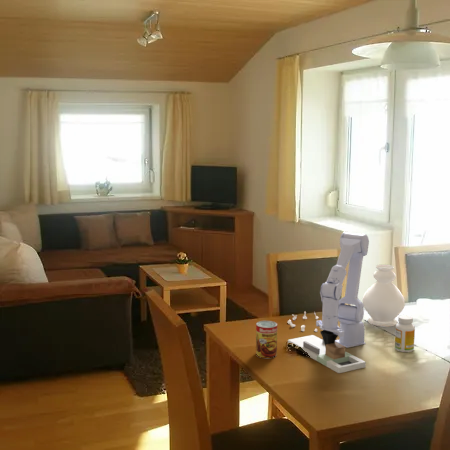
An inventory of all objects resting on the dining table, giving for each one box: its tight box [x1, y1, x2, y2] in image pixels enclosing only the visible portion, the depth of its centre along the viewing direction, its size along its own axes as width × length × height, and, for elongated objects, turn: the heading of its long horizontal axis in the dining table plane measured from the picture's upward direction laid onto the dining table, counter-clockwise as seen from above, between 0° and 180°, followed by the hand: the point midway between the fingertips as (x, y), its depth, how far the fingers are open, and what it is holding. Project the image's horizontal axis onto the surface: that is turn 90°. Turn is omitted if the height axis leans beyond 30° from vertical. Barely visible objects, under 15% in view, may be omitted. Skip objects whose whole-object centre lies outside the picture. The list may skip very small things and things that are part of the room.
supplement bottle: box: [394, 314, 416, 353], centre depth 243 cm, size 7×7×13 cm
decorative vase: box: [362, 263, 406, 328], centre depth 275 cm, size 18×18×25 cm
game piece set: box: [287, 311, 320, 333], centre depth 273 cm, size 19×20×4 cm
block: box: [325, 342, 346, 359], centre depth 232 cm, size 5×5×4 cm
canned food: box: [255, 320, 278, 358], centre depth 238 cm, size 8×8×12 cm
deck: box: [287, 334, 367, 374], centre depth 238 cm, size 12×32×4 cm, turn 28°
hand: (329, 349), depth 235 cm, fingers closed
